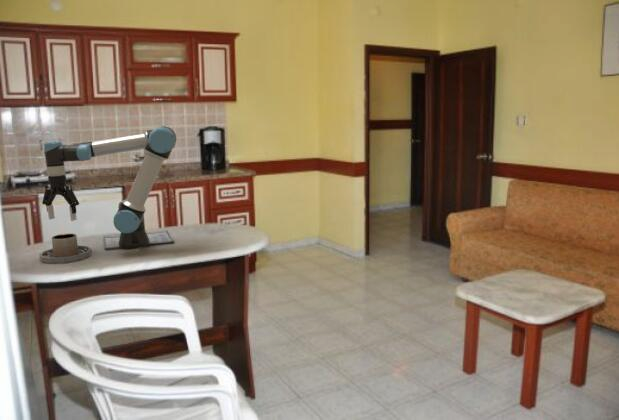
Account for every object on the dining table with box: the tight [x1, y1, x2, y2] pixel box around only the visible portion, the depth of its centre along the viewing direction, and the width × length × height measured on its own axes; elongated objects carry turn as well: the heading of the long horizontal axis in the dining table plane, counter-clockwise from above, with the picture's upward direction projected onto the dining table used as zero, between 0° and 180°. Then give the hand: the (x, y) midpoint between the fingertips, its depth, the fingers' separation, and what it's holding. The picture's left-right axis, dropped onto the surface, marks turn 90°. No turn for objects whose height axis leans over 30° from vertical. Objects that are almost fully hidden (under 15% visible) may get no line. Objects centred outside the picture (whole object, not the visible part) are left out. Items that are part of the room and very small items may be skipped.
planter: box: [51, 233, 79, 258], centre depth 248 cm, size 11×11×10 cm
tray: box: [38, 244, 93, 265], centre depth 248 cm, size 22×22×3 cm
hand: (62, 219), depth 245 cm, fingers open, 13 cm apart
